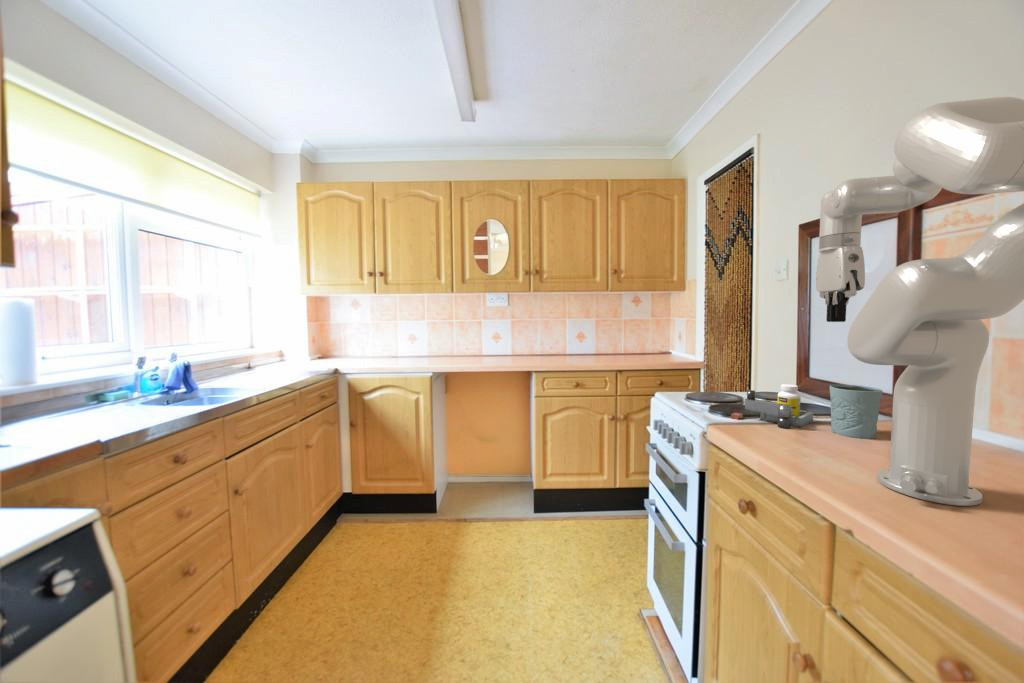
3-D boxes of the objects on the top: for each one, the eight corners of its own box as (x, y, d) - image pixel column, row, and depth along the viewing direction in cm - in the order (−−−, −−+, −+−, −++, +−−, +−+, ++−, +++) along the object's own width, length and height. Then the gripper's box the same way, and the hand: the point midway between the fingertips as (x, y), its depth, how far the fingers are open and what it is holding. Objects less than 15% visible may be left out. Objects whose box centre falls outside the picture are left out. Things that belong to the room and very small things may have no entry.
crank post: (788, 429, 104) (789, 419, 103) (730, 418, 115) (731, 409, 115) (792, 427, 105) (793, 417, 105) (735, 416, 117) (735, 408, 117)
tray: (801, 427, 105) (801, 418, 105) (760, 419, 113) (760, 411, 113) (812, 420, 111) (813, 412, 111) (773, 414, 119) (773, 406, 119)
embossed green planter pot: (829, 435, 98) (831, 388, 98) (825, 425, 107) (827, 382, 106) (884, 442, 93) (886, 393, 92) (875, 431, 101) (877, 386, 100)
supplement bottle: (774, 418, 112) (775, 385, 111) (779, 415, 115) (780, 382, 115) (797, 422, 108) (798, 387, 107) (801, 418, 112) (802, 385, 111)
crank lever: (793, 416, 105) (794, 396, 104) (787, 418, 104) (788, 398, 103) (750, 407, 115) (750, 389, 115) (743, 408, 114) (744, 390, 114)
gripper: (882, 237, 83) (878, 322, 85) (834, 248, 98) (831, 320, 99) (844, 238, 84) (840, 322, 86) (802, 249, 99) (799, 321, 100)
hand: (835, 321), depth 93 cm, fingers closed
